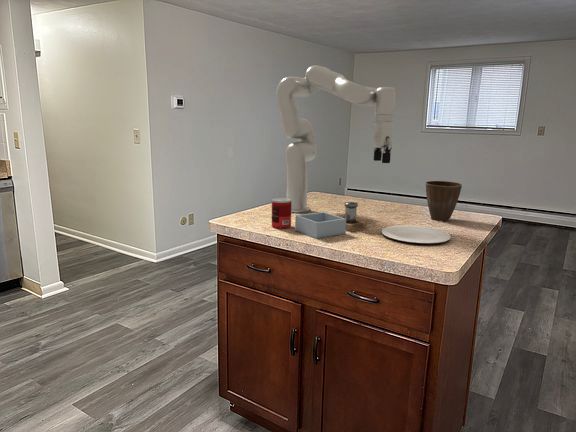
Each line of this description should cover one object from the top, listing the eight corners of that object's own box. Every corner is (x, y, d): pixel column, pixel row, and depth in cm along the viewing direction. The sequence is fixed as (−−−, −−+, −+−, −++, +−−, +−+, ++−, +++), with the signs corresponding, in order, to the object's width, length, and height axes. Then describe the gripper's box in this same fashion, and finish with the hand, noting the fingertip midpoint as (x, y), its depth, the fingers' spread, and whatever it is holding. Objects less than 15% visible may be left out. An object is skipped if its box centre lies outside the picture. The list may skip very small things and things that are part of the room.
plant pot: (458, 224, 186) (462, 187, 182) (421, 221, 190) (424, 184, 187) (457, 217, 200) (461, 182, 196) (423, 214, 204) (426, 180, 201)
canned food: (293, 225, 180) (294, 198, 177) (287, 229, 172) (287, 202, 170) (275, 223, 182) (276, 197, 180) (268, 227, 175) (268, 200, 172)
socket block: (334, 226, 179) (334, 220, 178) (351, 224, 183) (351, 218, 183) (348, 231, 171) (349, 225, 171) (366, 228, 176) (366, 222, 175)
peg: (340, 227, 178) (341, 202, 176) (350, 225, 181) (351, 201, 179) (349, 230, 174) (350, 205, 172) (359, 228, 177) (360, 203, 174)
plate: (399, 225, 184) (399, 221, 183) (460, 237, 168) (460, 232, 168) (369, 237, 165) (369, 233, 164) (434, 251, 149) (435, 246, 149)
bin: (295, 230, 171) (295, 215, 170) (323, 226, 178) (323, 211, 177) (316, 239, 160) (316, 222, 159) (345, 234, 167) (346, 218, 166)
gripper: (368, 118, 186) (365, 159, 190) (382, 119, 169) (380, 164, 173) (385, 119, 187) (382, 159, 191) (401, 119, 171) (398, 164, 174)
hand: (381, 161), depth 182 cm, fingers open, 9 cm apart
